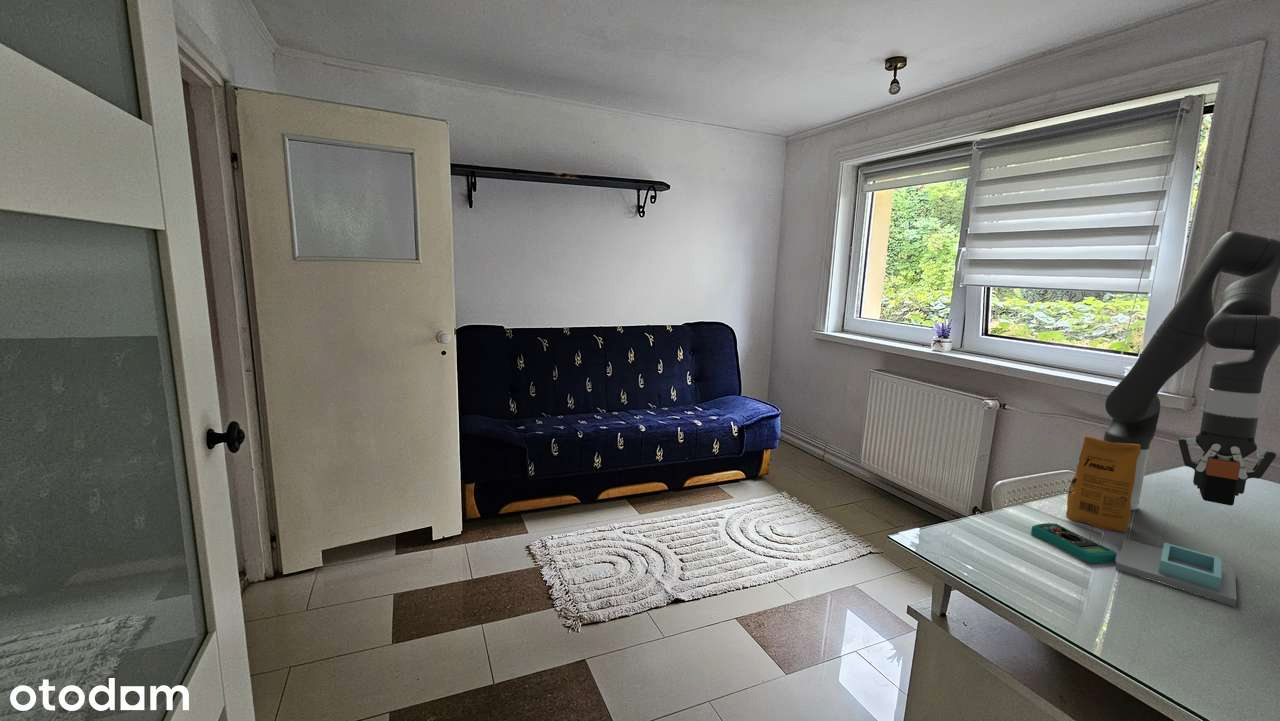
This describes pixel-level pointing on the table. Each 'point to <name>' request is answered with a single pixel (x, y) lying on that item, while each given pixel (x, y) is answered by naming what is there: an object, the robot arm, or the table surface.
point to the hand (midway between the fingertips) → (1217, 490)
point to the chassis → (1180, 569)
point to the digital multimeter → (1074, 543)
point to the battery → (1220, 480)
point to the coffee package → (1103, 484)
